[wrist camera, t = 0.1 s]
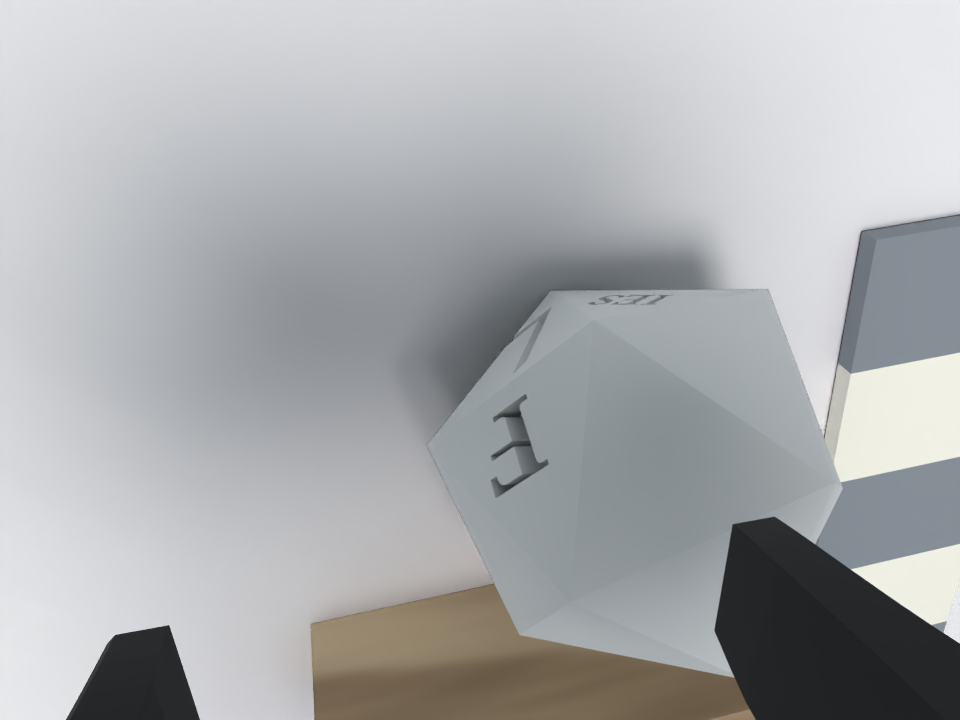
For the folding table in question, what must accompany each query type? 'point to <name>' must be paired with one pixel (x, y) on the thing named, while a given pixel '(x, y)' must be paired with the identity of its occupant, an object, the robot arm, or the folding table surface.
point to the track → (900, 419)
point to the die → (634, 464)
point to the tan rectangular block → (493, 671)
